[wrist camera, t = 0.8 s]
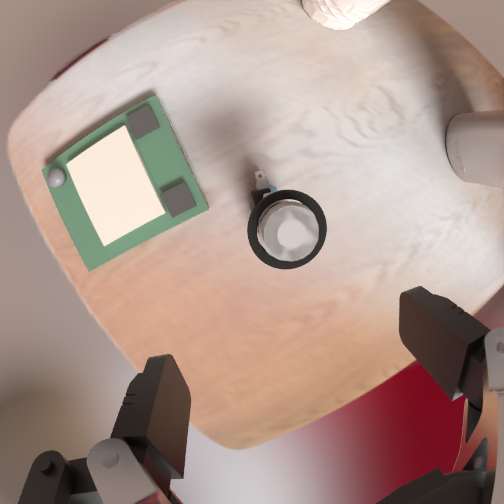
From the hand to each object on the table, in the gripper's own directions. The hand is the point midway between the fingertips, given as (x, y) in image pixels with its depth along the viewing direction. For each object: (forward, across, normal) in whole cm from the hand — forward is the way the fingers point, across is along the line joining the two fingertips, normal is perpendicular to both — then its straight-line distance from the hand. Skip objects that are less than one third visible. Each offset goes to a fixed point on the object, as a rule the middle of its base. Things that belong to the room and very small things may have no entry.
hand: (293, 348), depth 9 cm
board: (+19, +11, -8) cm, 24 cm away
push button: (+20, -2, -2) cm, 20 cm away
